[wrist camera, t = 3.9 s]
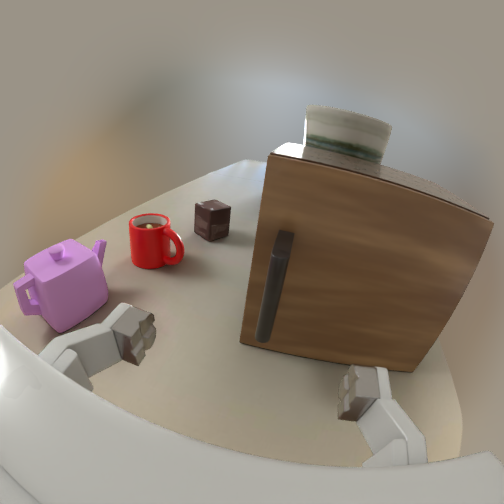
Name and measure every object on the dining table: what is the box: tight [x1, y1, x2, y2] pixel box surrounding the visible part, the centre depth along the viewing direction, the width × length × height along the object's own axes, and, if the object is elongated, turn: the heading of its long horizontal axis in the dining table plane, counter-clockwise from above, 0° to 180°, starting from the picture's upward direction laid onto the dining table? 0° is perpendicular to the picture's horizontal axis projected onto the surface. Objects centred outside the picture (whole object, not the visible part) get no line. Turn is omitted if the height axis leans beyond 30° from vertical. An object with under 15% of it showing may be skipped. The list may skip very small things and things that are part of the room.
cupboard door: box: [240, 155, 494, 372], centre depth 26 cm, size 7×26×24 cm, turn 78°
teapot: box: [13, 239, 108, 333], centre depth 33 cm, size 18×10×10 cm, turn 155°
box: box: [194, 200, 231, 241], centre depth 62 cm, size 6×6×7 cm
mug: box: [129, 213, 184, 269], centre depth 48 cm, size 8×12×8 cm, turn 69°
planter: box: [304, 105, 392, 164], centre depth 65 cm, size 22×22×33 cm
